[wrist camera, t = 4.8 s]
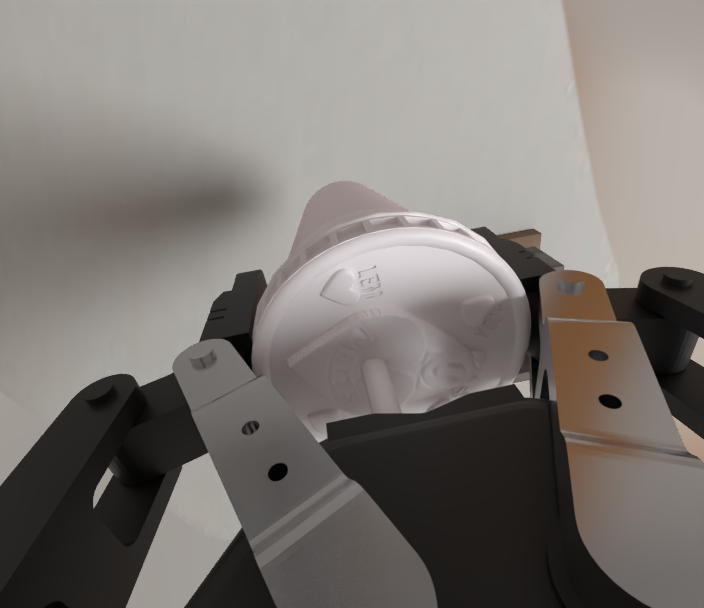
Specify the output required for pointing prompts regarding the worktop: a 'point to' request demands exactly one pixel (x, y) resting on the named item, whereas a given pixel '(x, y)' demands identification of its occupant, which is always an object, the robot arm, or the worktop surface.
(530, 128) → the worktop surface
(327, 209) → the smoothie
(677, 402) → the robot arm
